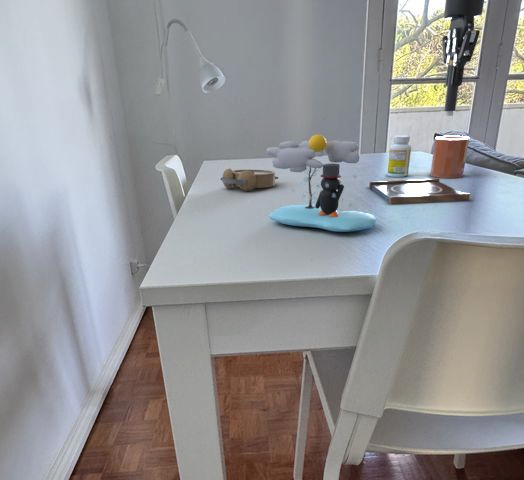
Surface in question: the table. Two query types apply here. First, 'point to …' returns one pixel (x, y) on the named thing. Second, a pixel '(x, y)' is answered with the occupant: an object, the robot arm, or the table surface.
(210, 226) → the table surface
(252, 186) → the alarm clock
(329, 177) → the penguin figurine
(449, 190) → the brown square panel
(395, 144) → the supplement bottle
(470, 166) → the table surface
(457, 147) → the pen cup
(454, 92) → the marker
